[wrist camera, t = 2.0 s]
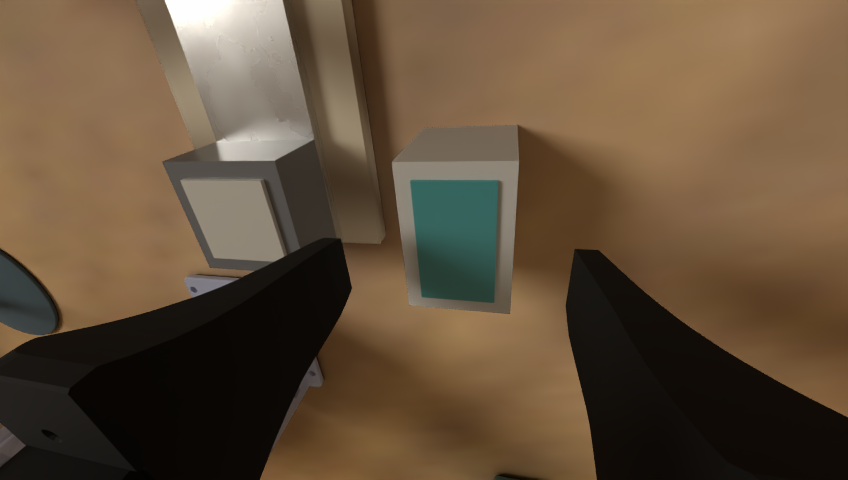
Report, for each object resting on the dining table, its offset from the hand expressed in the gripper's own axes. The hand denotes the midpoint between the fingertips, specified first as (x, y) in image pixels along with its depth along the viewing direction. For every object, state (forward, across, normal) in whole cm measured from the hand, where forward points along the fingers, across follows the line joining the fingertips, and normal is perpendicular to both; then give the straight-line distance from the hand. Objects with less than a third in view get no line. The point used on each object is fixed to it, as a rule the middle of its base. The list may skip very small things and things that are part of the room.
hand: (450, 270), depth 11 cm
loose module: (+7, 0, 0) cm, 7 cm away
